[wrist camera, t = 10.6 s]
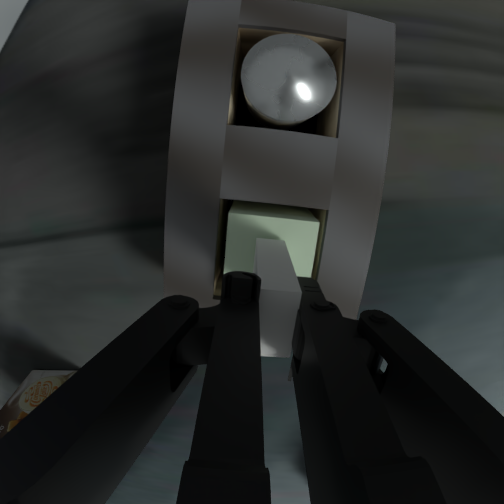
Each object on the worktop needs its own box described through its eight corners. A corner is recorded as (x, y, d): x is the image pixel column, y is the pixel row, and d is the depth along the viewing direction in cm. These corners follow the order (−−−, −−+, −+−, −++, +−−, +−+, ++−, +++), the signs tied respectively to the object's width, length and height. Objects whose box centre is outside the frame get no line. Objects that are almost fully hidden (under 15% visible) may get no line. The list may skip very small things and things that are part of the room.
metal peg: (248, 62, 21) (246, 29, 14) (316, 70, 21) (339, 41, 14) (241, 125, 22) (236, 115, 16) (310, 133, 22) (332, 127, 16)
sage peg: (236, 195, 23) (228, 212, 17) (301, 201, 24) (319, 222, 17) (230, 257, 25) (222, 296, 18) (292, 263, 25) (305, 304, 18)
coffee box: (55, 407, 32) (1, 496, 17) (31, 368, 30) (-37, 455, 15) (111, 410, 32) (62, 519, 16) (87, 368, 30) (18, 479, 14)
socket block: (206, 33, 20) (189, -5, 14) (360, 52, 21) (395, 23, 14) (185, 280, 26) (164, 321, 20) (329, 293, 27) (350, 337, 20)
